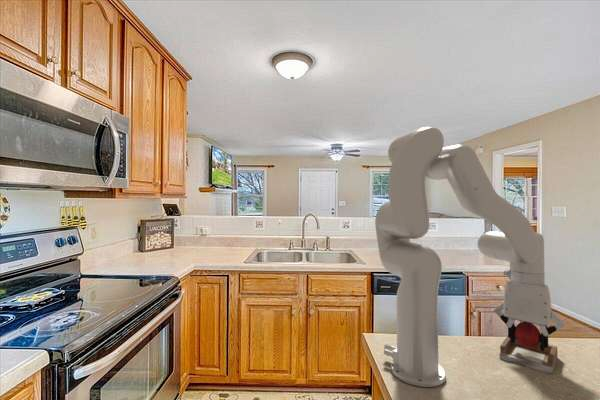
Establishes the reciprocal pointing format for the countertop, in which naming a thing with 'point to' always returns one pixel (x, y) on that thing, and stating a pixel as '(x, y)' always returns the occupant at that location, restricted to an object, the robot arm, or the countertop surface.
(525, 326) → the onion
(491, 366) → the countertop surface
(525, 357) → the tray
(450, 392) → the countertop surface
